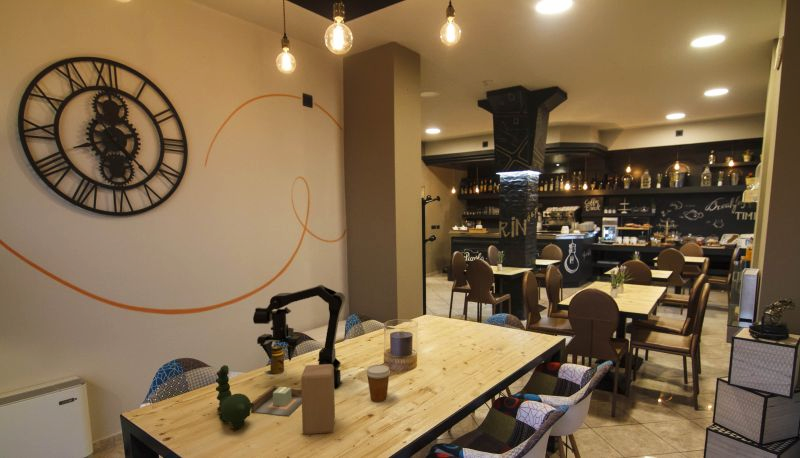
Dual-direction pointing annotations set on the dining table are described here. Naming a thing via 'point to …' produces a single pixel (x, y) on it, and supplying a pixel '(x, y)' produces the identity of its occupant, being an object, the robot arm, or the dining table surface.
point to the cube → (282, 396)
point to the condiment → (276, 362)
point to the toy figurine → (231, 402)
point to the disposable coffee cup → (378, 382)
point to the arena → (266, 406)
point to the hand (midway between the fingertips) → (280, 359)
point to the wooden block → (318, 399)
